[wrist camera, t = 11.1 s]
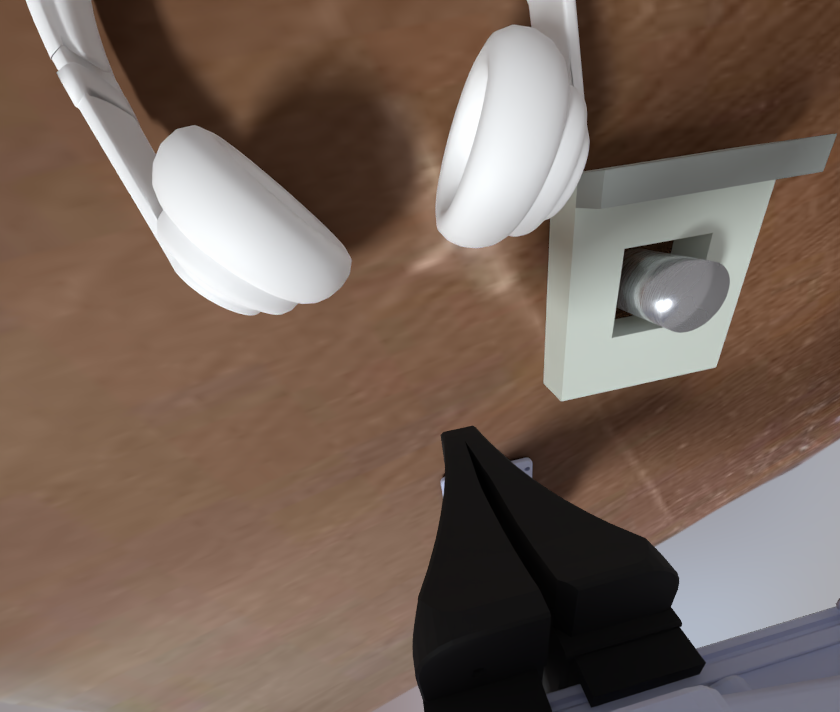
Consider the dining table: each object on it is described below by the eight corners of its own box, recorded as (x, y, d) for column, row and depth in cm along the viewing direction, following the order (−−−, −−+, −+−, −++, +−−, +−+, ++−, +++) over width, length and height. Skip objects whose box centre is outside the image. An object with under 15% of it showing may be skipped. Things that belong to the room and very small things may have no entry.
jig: (685, 352, 26) (745, 380, 22) (543, 383, 25) (578, 418, 21) (739, 146, 20) (837, 133, 16) (551, 176, 19) (604, 170, 15)
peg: (646, 304, 23) (713, 329, 19) (595, 308, 23) (652, 335, 18) (663, 246, 22) (741, 259, 17) (608, 249, 21) (675, 263, 17)
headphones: (554, 215, 19) (481, -345, 12) (667, 201, 12) (655, -1274, 5) (238, 318, 19) (-35, -199, 12) (152, 370, 11) (-755, -974, 4)
